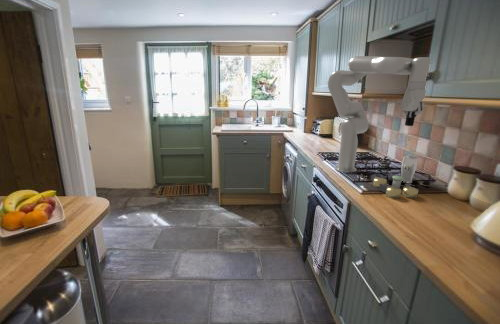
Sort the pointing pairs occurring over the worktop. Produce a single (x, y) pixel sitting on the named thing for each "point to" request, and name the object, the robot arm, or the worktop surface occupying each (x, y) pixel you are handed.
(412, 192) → the knob
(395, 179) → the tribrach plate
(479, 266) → the worktop surface
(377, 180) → the knob left
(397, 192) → the knob
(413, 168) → the beer glass
